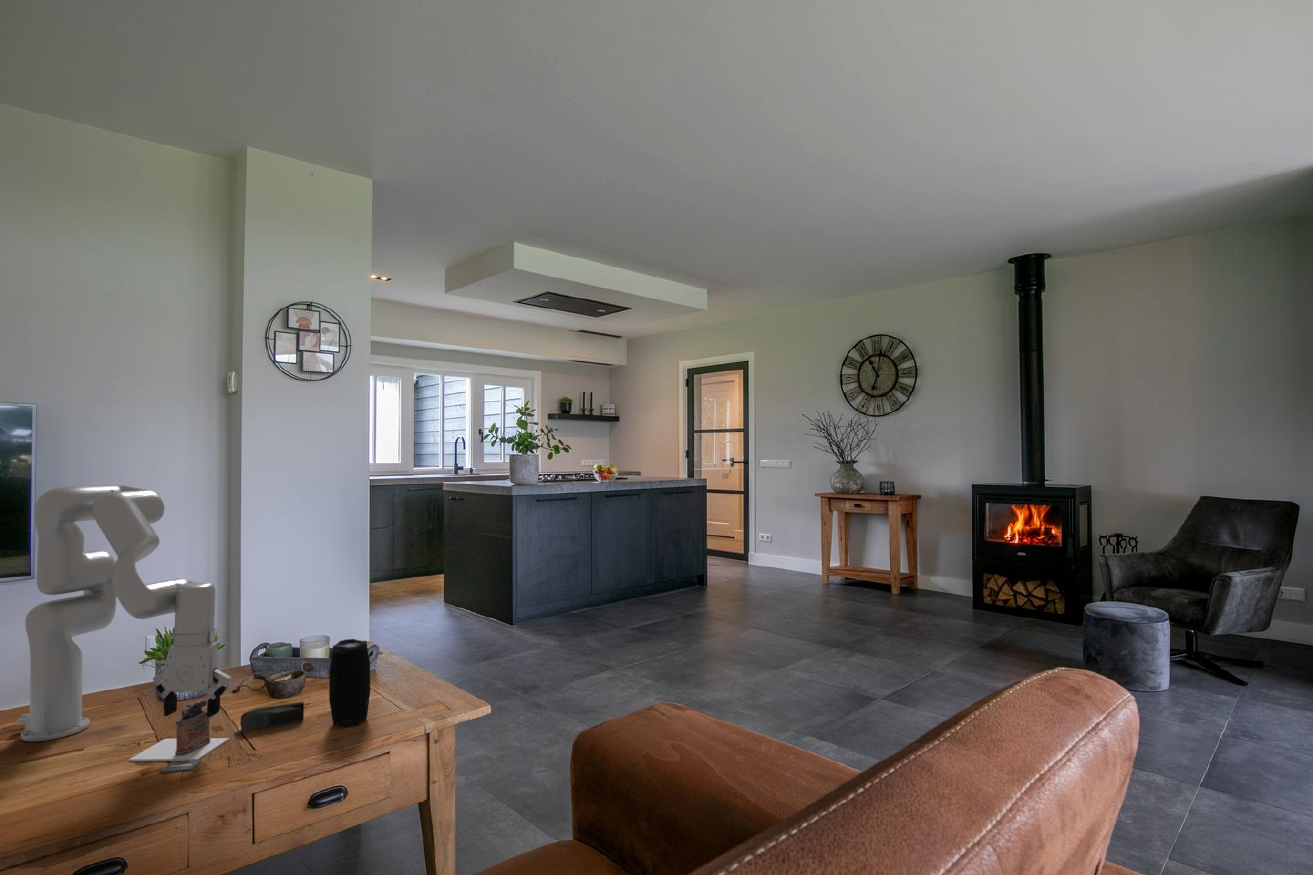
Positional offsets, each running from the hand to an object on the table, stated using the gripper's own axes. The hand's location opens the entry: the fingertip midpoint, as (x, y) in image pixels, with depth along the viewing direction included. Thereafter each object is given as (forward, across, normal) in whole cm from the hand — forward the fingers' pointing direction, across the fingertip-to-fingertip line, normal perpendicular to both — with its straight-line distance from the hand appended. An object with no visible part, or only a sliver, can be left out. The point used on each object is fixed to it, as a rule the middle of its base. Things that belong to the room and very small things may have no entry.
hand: (191, 714), depth 155 cm
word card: (+8, +4, -9) cm, 12 cm away
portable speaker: (+7, +29, +16) cm, 34 cm away
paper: (+8, -2, 0) cm, 8 cm away
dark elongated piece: (+8, +11, +13) cm, 19 cm away
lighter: (+8, +1, 0) cm, 8 cm away
